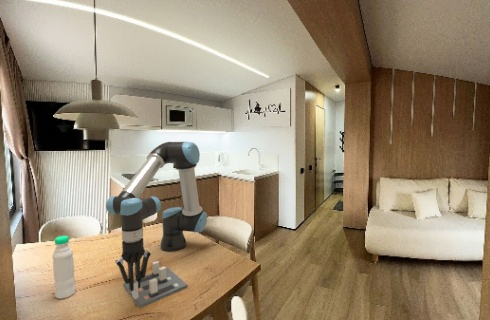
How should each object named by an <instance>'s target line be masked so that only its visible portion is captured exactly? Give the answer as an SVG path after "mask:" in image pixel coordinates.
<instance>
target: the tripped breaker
mask: <svg viewBox="0 0 490 320" xmlns="http://www.w3.org/2000/svg"><path fill="white" fill-rule="evenodd" d="M149 290H150V292H149V295H150V296H151V297H152V296H154V295H157V294H158V287H157V279H156V278H154V279H152V280H149Z"/></svg>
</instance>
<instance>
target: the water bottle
mask: <svg viewBox="0 0 490 320" xmlns="http://www.w3.org/2000/svg"><path fill="white" fill-rule="evenodd" d="M69 242H70V237H69V236H68V235H60V236H57V237H56V238H55V239H54V244H55V249H54V251H53V253H52V257H51V258H52V261H53V262H52V266H53V267H52V268H53V279H54V289H55V290H54V296H55V298H56V299H59V300H61V299H62V300H63V299H66V298H69V297H71V296H72V295H74V294H75V293H76V284H75V281H76V278H75V265H74V263H75V262H74V257H73V254H74V251H73V249H72V248H71V246H70V245H69Z"/></svg>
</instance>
